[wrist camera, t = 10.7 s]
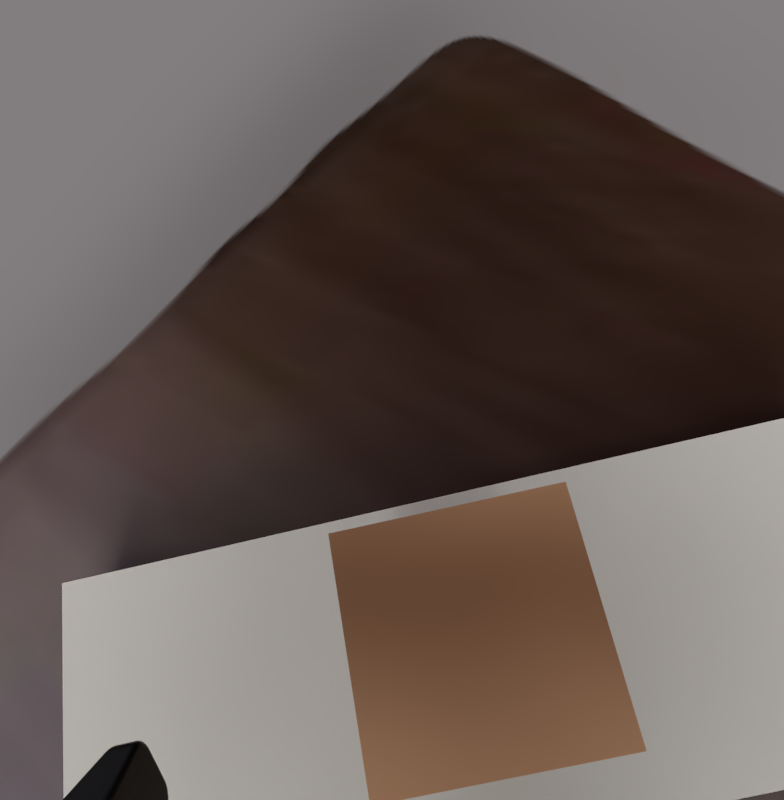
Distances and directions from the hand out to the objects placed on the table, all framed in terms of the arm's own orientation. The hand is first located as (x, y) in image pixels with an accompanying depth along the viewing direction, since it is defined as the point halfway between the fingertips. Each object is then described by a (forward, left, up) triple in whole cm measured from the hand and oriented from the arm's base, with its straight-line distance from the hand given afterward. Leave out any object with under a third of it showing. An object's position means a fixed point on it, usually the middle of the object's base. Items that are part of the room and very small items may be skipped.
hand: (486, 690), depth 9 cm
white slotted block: (0, +1, -13) cm, 14 cm away
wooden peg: (0, +1, -14) cm, 14 cm away
